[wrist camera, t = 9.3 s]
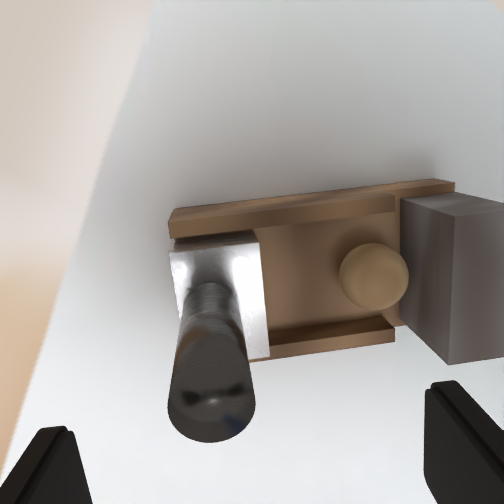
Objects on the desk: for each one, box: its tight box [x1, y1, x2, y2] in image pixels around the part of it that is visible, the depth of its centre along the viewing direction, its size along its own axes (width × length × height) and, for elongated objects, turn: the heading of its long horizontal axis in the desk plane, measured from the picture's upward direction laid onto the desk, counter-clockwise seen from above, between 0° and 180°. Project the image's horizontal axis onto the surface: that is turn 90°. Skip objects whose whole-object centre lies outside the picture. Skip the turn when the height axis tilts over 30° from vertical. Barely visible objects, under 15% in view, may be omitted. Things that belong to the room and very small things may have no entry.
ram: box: [167, 229, 270, 443], centre depth 17 cm, size 4×6×10 cm
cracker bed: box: [168, 179, 504, 365], centre depth 21 cm, size 15×8×7 cm, turn 96°
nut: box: [339, 243, 409, 310], centre depth 21 cm, size 3×3×3 cm
